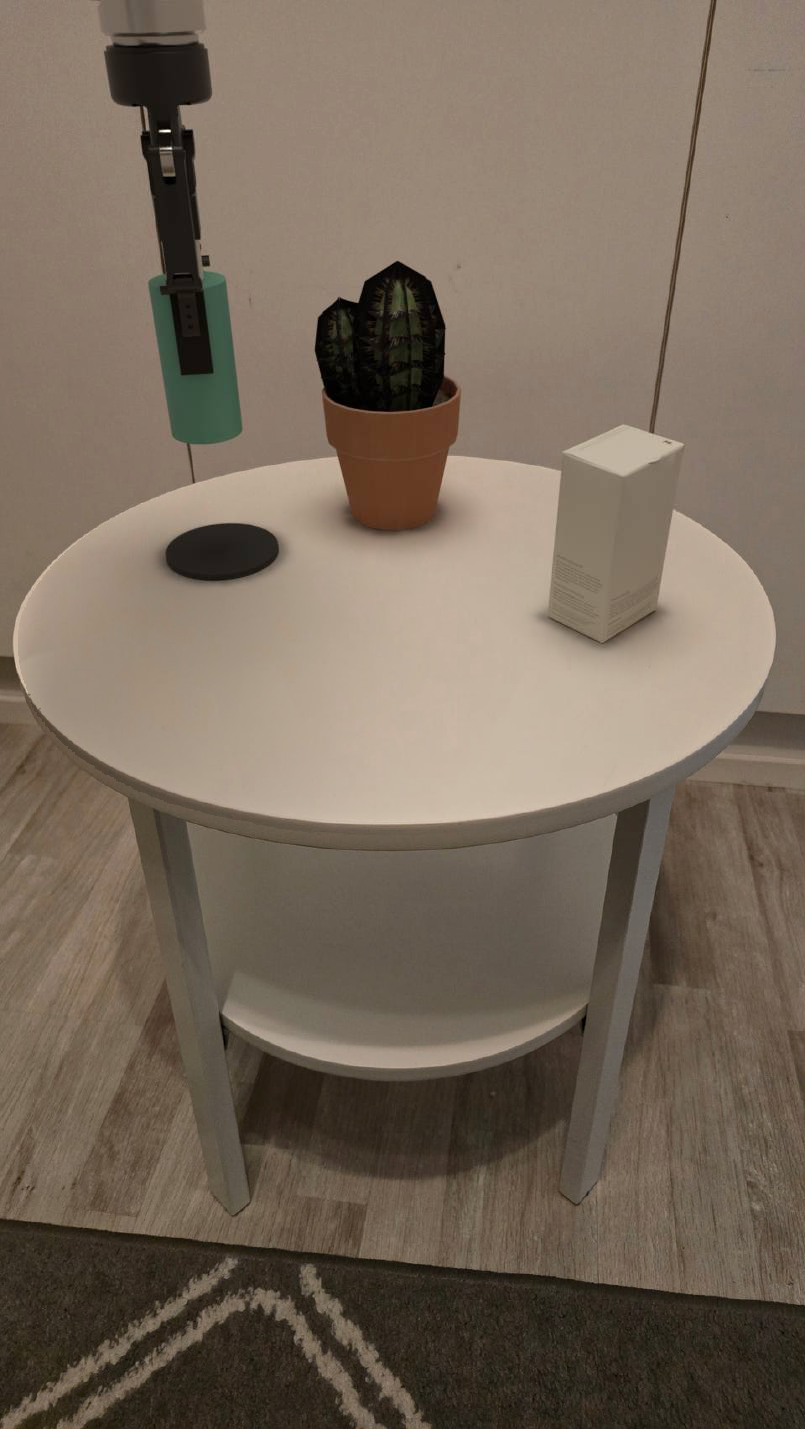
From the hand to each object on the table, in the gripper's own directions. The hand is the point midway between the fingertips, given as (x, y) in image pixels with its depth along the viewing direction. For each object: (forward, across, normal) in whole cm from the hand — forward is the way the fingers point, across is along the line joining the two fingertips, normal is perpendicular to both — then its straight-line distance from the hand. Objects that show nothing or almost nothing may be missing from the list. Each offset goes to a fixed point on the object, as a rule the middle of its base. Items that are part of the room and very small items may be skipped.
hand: (197, 359), depth 86 cm
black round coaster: (+19, 0, 0) cm, 19 cm away
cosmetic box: (+19, +18, +33) cm, 42 cm away
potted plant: (+19, -6, +18) cm, 27 cm away
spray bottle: (+6, 0, 0) cm, 6 cm away
